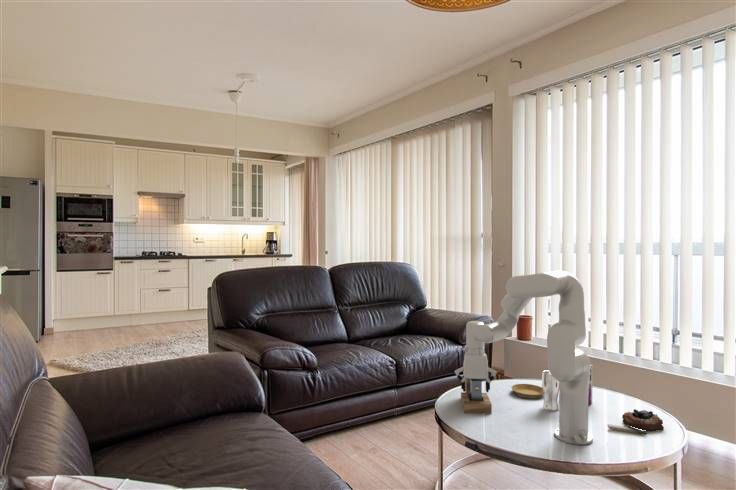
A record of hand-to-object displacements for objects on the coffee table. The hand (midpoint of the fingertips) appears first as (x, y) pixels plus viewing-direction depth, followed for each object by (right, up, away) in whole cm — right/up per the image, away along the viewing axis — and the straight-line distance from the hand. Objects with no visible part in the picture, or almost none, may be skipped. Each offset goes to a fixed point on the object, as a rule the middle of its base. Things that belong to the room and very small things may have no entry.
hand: (475, 391), depth 196 cm
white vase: (+31, -7, -2) cm, 32 cm away
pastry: (+59, -7, -20) cm, 63 cm away
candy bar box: (+46, -6, +6) cm, 47 cm away
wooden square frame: (0, -7, +3) cm, 7 cm away
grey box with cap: (0, -7, 0) cm, 7 cm away
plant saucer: (+28, -7, +15) cm, 32 cm away
